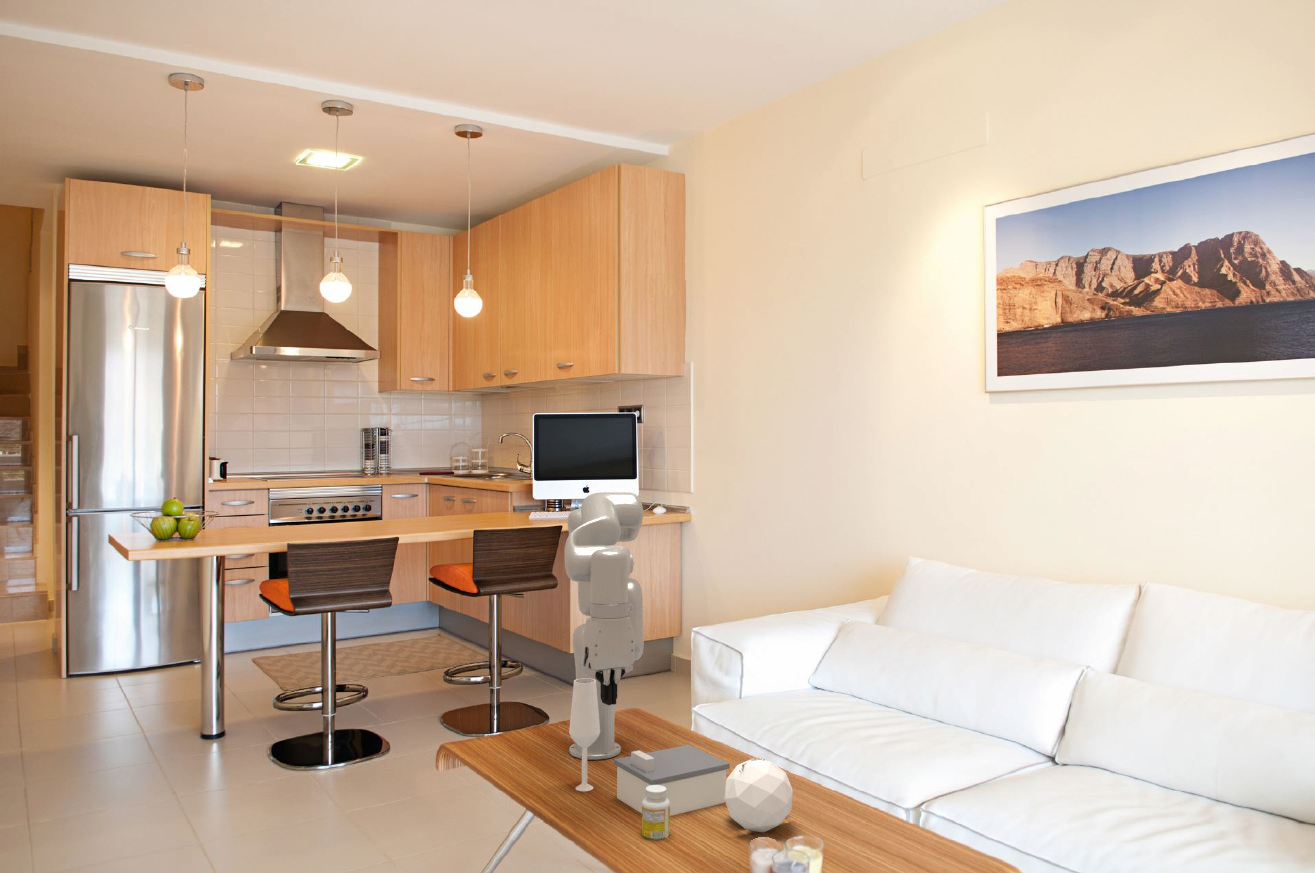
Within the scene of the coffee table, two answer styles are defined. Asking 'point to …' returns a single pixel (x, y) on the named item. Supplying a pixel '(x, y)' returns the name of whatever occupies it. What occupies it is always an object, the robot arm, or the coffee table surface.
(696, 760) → the lid
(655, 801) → the supplement bottle
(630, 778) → the storage box
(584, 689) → the champagne flute
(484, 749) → the coffee table surface
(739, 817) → the geodesic sphere
